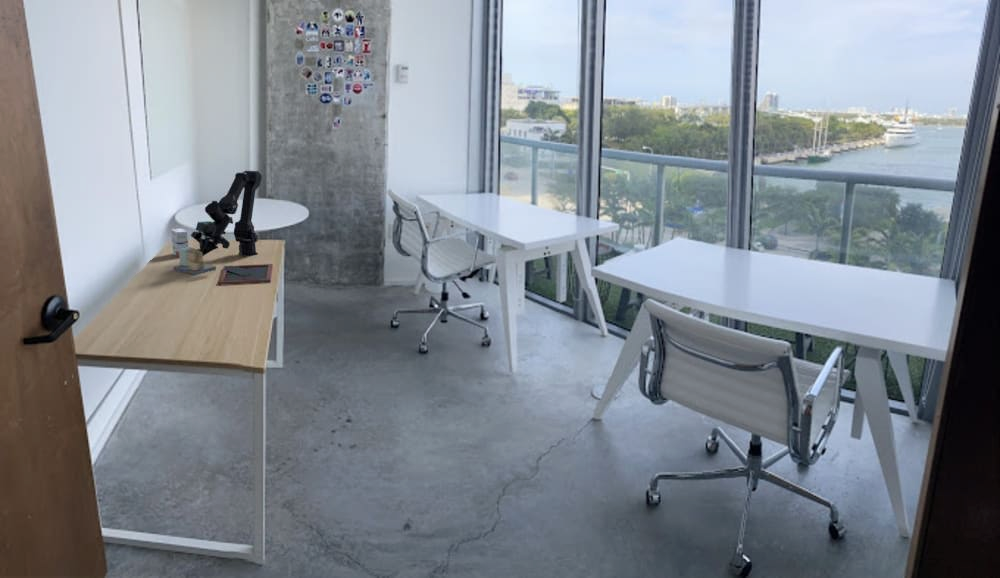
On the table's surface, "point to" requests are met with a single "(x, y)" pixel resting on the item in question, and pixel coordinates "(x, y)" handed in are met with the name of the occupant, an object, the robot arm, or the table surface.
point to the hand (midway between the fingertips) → (199, 256)
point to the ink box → (179, 240)
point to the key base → (194, 272)
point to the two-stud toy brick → (184, 255)
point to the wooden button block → (194, 260)
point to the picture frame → (246, 274)
